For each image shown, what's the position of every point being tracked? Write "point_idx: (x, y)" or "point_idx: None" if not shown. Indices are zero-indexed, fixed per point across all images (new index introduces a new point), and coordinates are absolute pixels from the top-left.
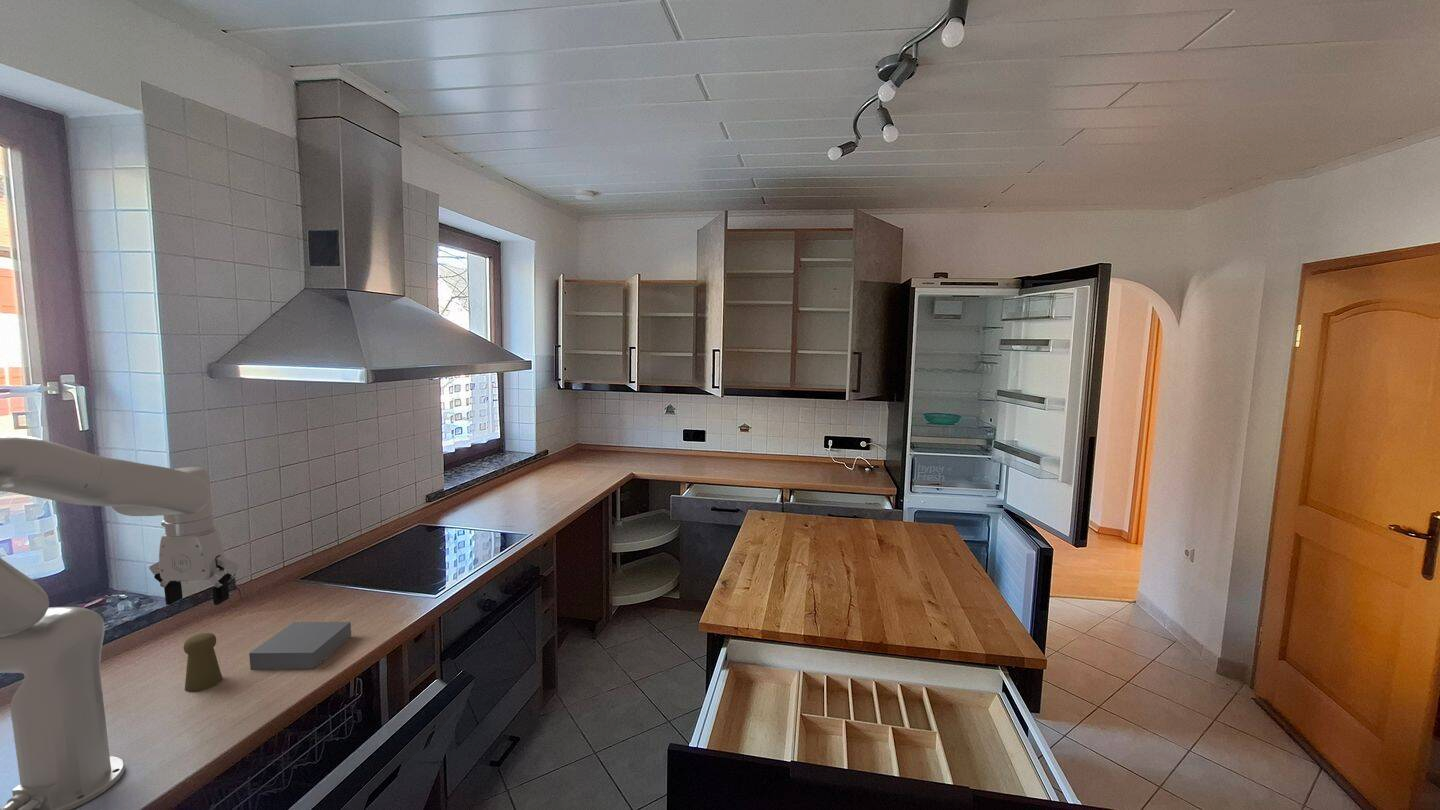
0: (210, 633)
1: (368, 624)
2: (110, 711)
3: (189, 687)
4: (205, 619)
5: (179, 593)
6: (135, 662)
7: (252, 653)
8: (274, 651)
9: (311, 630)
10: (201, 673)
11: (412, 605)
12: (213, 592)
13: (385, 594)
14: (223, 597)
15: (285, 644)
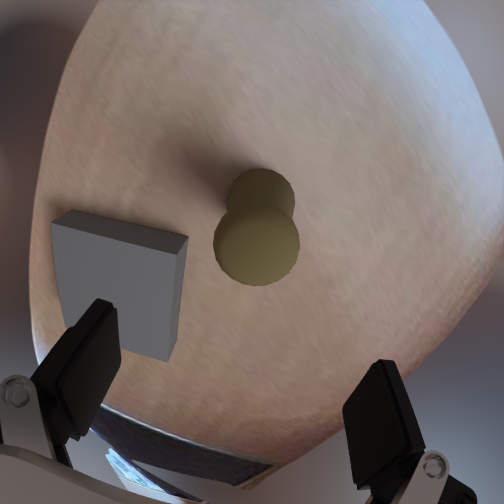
0: (232, 274)
1: None
2: (396, 141)
3: (274, 174)
4: None
5: (353, 426)
6: (420, 315)
7: (169, 252)
8: (124, 248)
9: None
10: (246, 185)
11: None
12: (67, 358)
13: (121, 410)
14: (67, 332)
15: (120, 274)
